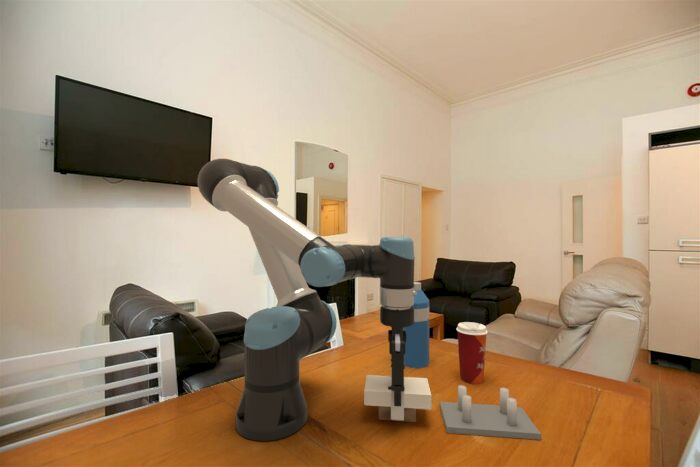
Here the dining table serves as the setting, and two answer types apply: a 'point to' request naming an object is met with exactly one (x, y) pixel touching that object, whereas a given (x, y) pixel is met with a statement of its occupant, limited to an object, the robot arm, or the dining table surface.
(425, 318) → the water bottle
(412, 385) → the shelf board
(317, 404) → the dining table surface
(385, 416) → the riser block
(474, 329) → the coffee cup
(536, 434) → the peg stand
